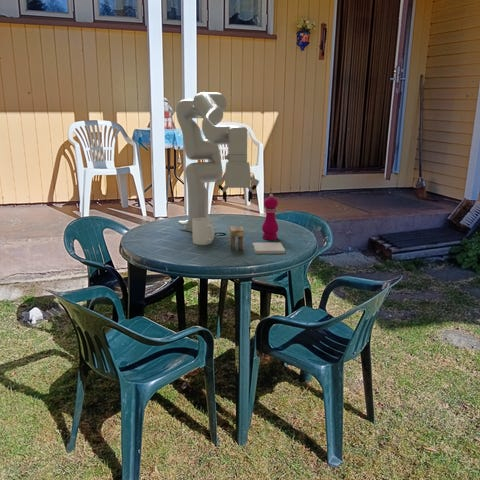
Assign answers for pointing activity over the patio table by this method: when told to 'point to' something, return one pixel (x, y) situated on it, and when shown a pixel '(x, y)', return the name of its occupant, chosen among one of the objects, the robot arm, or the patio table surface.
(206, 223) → the cup
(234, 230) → the pegged wooden block
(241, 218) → the patio table surface
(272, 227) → the pepper mill
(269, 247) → the tile
